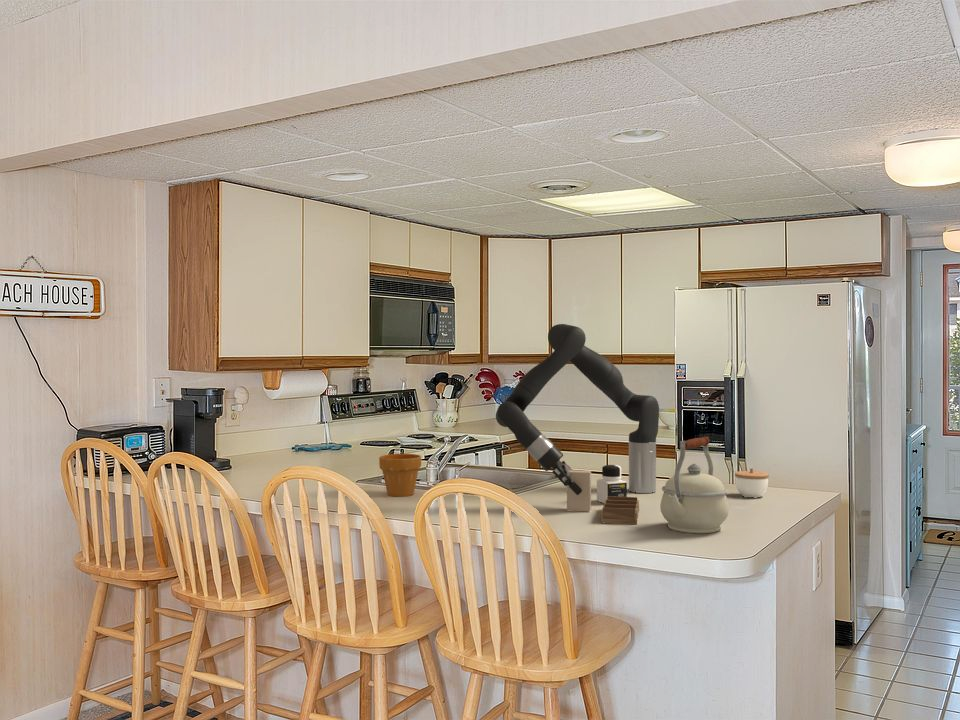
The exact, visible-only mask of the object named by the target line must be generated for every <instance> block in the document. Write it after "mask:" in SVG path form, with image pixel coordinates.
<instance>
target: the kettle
mask: <svg viewBox="0 0 960 720" xmlns="http://www.w3.org/2000/svg"><path fill="white" fill-rule="evenodd" d="M709 444H710V438H709V436H702V437H696V438H690V439H687V440H680V442H679V444H678V447H679V449H680V451H679V453H680V454H679V458H678V461H677V463H676V467H675V470H674V474H673V476H671V477H669V478H668V480H666V482H665V485H664V486H662V487H661V490H662V491H663V492H662V497H661V500H660V507H659V508H660V512H661V516H662V517H663V518H664V519H665V520H666V522H667V523H668V524H667V526H668V528H669V529H670V530H672V531H676V532H680V533H687V534H711V533H712V534H713V533H716V532H719V531H720V530H721V525H722V524H723V523H724V522H725V521H726V519H727V518H728V516H729V511H730V508H729V507H730V506H729V502H728V498H727V496H726V494H728V489H726V488H725V486H724V484H723V482H722V481H721V480H720V479H719V478H717V477H715V476H714V464H713V460H712V456H711V455H710V451H709ZM701 447H702V448H703V450H702V451H703V454H704V456H705V458H706V461H707V467H708V472H707V473H708V474H707V473H702V472H701V471H702V468H701V467H700V465H698V464H697V463H692V464H690V465H689V466H688V467H687V468H686V470H687V472H681V469H682V466H683V463H684V461H685V457H686V451H688V450H692V449H696V448H701Z"/></svg>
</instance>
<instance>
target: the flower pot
mask: <svg viewBox="0 0 960 720" xmlns="http://www.w3.org/2000/svg"><path fill="white" fill-rule="evenodd" d="M378 457H379V458H378V462H379V469H380V470H381V472H382V474H383V475H382V476H383V480H384V483H385V484H384V485H385V488H386V492H387V493H386V494H387V496H390V497H396V498H397V497H398V498H399V497H409V496H412V495H414V493H415V490H416V484H417V479H418V474H419V469H420V468H421V467H422V456H421V455H420V454H416V453H390V454H383V455H380V456H378Z"/></svg>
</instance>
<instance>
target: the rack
mask: <svg viewBox="0 0 960 720" xmlns="http://www.w3.org/2000/svg"><path fill="white" fill-rule="evenodd" d="M639 511H640V500H638V496H637V497H636V496H627V497H616V496H607V499H606V500H605V503H604V504H603V506H602V508H601V512H600V523H601V522H605V523H604V524H617V523H620V525H621V524H622V525H637V524H638V520H637V519H638V518H639V514H640V513H639ZM638 513H639V514H638Z"/></svg>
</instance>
